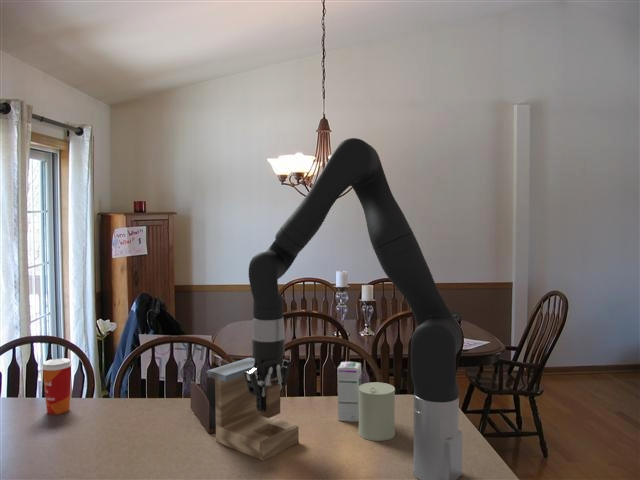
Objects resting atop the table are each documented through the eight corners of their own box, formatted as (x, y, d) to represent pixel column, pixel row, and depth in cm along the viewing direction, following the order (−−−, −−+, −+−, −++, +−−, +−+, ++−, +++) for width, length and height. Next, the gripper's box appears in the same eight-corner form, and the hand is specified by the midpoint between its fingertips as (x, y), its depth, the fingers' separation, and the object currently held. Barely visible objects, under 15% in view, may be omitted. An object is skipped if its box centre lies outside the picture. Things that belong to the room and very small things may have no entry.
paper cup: (43, 408, 152) (41, 359, 151) (73, 404, 155) (71, 356, 154) (42, 418, 145) (40, 367, 144) (73, 413, 148) (71, 363, 147)
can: (352, 436, 133) (352, 388, 132) (366, 423, 141) (366, 378, 140) (387, 444, 128) (387, 394, 127) (400, 429, 136) (400, 383, 136)
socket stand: (301, 440, 130) (300, 369, 129) (260, 462, 119) (259, 385, 118) (250, 422, 141) (249, 357, 140) (208, 441, 130) (207, 370, 129)
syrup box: (359, 422, 141) (359, 368, 140) (337, 420, 142) (337, 367, 141) (362, 414, 147) (362, 362, 146) (340, 412, 148) (340, 360, 147)
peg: (280, 413, 127) (280, 384, 127) (268, 418, 124) (268, 388, 124) (268, 409, 130) (267, 380, 129) (256, 414, 126) (256, 385, 126)
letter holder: (224, 402, 156) (223, 354, 155) (246, 427, 139) (245, 373, 138) (190, 408, 152) (189, 359, 151) (208, 434, 134) (207, 379, 133)
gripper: (258, 345, 118) (258, 421, 119) (300, 333, 129) (300, 403, 130) (234, 339, 122) (235, 413, 123) (277, 328, 133) (277, 396, 135)
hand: (268, 407), depth 127 cm, fingers closed on peg, 4 cm apart
